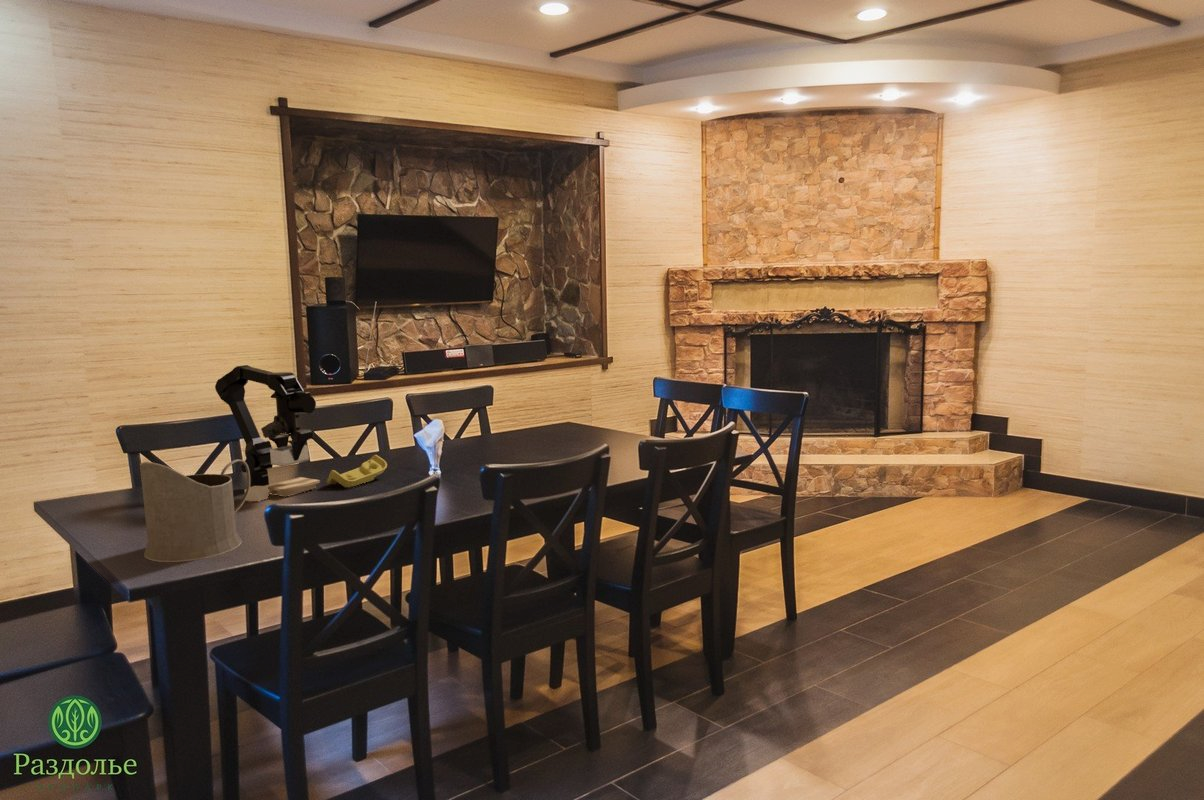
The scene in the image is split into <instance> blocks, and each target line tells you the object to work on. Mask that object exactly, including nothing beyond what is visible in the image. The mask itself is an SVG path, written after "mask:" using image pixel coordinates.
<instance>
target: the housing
mask: <svg viewBox="0 0 1204 800" xmlns="http://www.w3.org/2000/svg"><path fill="white" fill-rule="evenodd" d="M270 456H271V465H273V466H279V467H286V466H290V465H291V466H292V465H295V464H299V463H304V462H308V461H310V459H309V458H310V457H309V456H310V455H309V445H306V444H305V445H304V447H303V449H302V451H301V454H300V456H299V459H298V460H297V461H295V460H294V456H293V450H292V445H291V444H288V446H283V447H279V448H277V447H275V448H273V449H270Z"/></svg>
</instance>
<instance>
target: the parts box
mask: <svg viewBox="0 0 1204 800" xmlns="http://www.w3.org/2000/svg"><path fill="white" fill-rule="evenodd" d="M243 492H244V493H245V492H246V489H245V488H244V491H243ZM268 496H269V497H270V494H269V489H268V486H252V487H250V490H249V493H248V496H247V498H246V500H261V499H264V498H266V497H268Z"/></svg>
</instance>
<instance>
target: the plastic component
mask: <svg viewBox="0 0 1204 800" xmlns="http://www.w3.org/2000/svg"><path fill="white" fill-rule="evenodd" d="M387 467H388V463H387V461H386V460H385V459H383V458H382V457H380V456H379V455H377V454H374V455H372V456H371V457H370V458H369V459H368V460H367V461H364V462H363V463H361V464H360V466H359V467H356V468H354V469H352V470H349V471H346V472H343V473H339V472H338V471H336V470H334V469H332V470H330V472H329V475H328V477H327V480H326V484H327V485H329V484H333V483H336V482H338V483H337V484H340V485H341V486H342V487H344V488H346V487H351V486H356V485H359V484H362V483H364V484H366V482H367V483H369V482H372V481H374V480H375V478H376V477H377V476H380V475H381V474H383V473H384V471H386V469H387ZM374 477H375V478H374ZM333 485H334V484H333ZM362 485H363V484H362ZM359 486H360V485H359ZM356 487H357V486H356Z"/></svg>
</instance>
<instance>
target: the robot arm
mask: <svg viewBox="0 0 1204 800" xmlns="http://www.w3.org/2000/svg"><path fill="white" fill-rule="evenodd" d="M249 381H251V382H255V383H259V384H262V385H265V386H267V387H268V389H270V390H272V391H274V392H273V393H272V394H271V395H270V398H271V399H275V403H276V415H274V417H273V421H272V422H269V423H267V424H266V425H264V426H263V427H261V432H262V437H264V438H265V439H269V440H264V439H262V437H261V435H260V432H259V430H258V428H257V427H256V424H255V422H254V419H253V417H252V414H251V413H250V410H249V408H248V406H247V403H246V401H245V394H246V389H245V386H246V385H247V384H248V382H249ZM214 388H215V392H216V393H217V395H218V397H219V398H220V400H221V401H223V402H224V403H226V404H227V405H228V406H229V409H230V411H231V412H232V415H233V418H234V419H235V420H234V421H235V422H236V425H237V427H238V429H239V432H240V433H241V436H242V437H243V441H244V442H245V449H244V455H245V457H246V458H245V459H244V461H245V462H246V463H247V465H248V467H249V471H250V487H252V486H266V485H270V482H269V481H270V480H269V474H268V473H269V472H268V469H272V468H273V466H274V465H271V456H270V449H274V448H273V446H272V443H271V441H272V442H273V443H274V444H275V446H276V448H279V447H283V446H288V445H292V450H293V456H294V460H295V461H297V460H298V459H299V456H300V454H301V451H302V449H303V447H304V445H306V442H308V441H309V440H312V439H314V438H315V437H314V432H313V431H312V430H311V429H307V428H303V429H301V427H300V426H298V424H297V423H298V422H297V419H298V418H300V414H307V415H308V414H312V413H314V411H315V410H316V407H317V402H316V400H315V398H314V396H313V395H311V392H310V391H305V390H304V389H303V386H302V385H301V383H300V382H299V380H298V379H297V377H296V374H294V372H290V371H283V372H281V371H279V372H273V371H268V370H264V369H261V368H257V367H252V366H251V365H248V364H244V365H237V366H235V367H234V368H232V370H231V371H229V372H227V373H226V374H225V375H222V377H220V378H218V380H217V381H216V383H215V386H214ZM289 438H290V440H289ZM240 468H241V471H242V473H246V468H245V466H244V464H243V463H242V464H241V466H240ZM245 488H247V486H246V487H244V489H245Z"/></svg>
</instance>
